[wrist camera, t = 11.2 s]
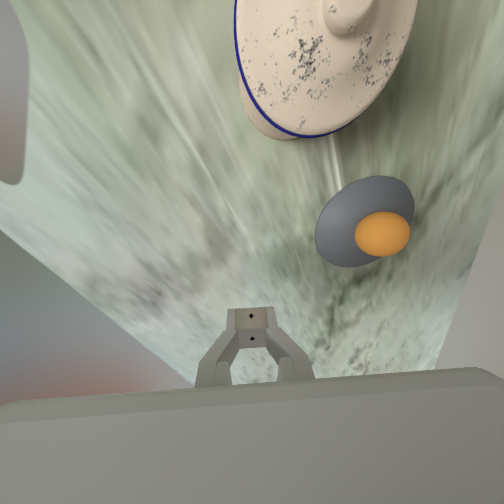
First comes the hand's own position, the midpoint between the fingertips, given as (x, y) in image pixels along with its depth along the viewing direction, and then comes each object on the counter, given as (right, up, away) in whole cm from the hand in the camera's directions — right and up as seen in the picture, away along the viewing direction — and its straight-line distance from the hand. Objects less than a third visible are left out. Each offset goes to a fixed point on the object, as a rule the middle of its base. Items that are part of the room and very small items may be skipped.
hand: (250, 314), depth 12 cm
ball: (+16, +6, +10) cm, 20 cm away
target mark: (+15, +8, +12) cm, 21 cm away
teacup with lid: (+3, +21, +4) cm, 22 cm away
